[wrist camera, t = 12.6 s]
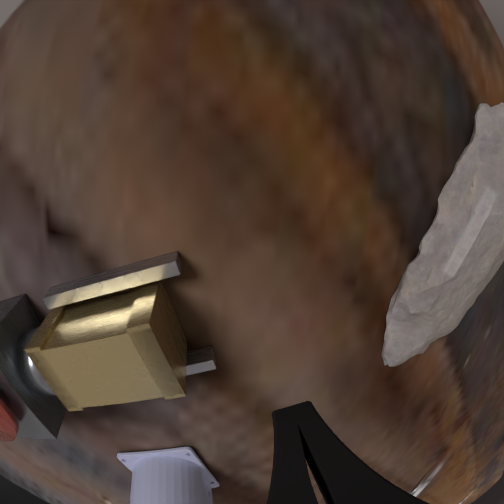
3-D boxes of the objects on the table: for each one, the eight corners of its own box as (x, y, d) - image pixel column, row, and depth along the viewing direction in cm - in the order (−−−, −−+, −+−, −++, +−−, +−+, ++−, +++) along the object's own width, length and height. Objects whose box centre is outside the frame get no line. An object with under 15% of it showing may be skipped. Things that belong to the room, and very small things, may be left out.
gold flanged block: (187, 341, 20) (186, 396, 15) (87, 361, 19) (68, 411, 15) (160, 276, 18) (148, 323, 13) (54, 304, 17) (24, 349, 13)
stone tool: (568, 156, 15) (433, 398, 20) (530, 147, 19) (404, 363, 24) (522, 51, 11) (345, 368, 16) (476, 55, 15) (316, 321, 21)
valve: (215, 355, 20) (224, 441, 14) (1, 387, 19) (-27, 443, 12) (177, 249, 17) (164, 321, 11) (-45, 316, 16) (-88, 365, 9)
